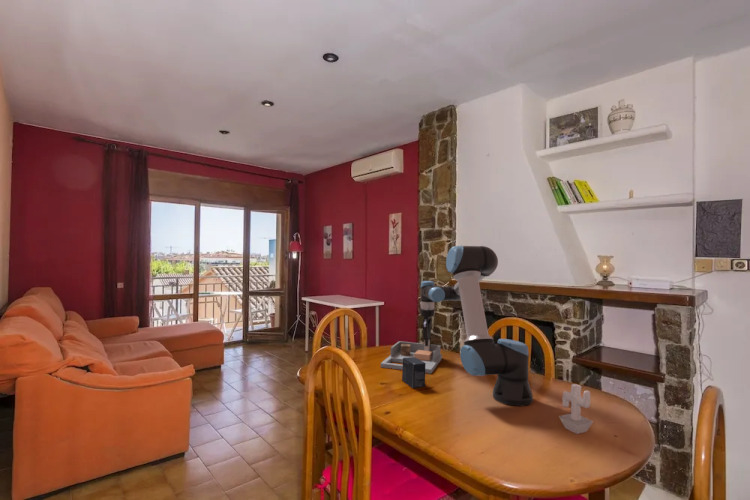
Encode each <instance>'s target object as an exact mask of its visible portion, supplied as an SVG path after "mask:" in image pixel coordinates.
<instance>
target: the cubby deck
mask: <svg viewBox="0 0 750 500" xmlns="http://www.w3.org/2000/svg"><path fill="white" fill-rule="evenodd" d="M401 344H410V356H408V355H401ZM418 350H424V343H421V342H411V341H410V342H409V341H402V340H400V341H399V340H398V341H397V342H396V343H395V344H393V345H391V347H390V355H389V356H388V357H386V358H385V359H384V360H383V361H382V362H380V368H383V369H384V368H385V369H391V368H392V370H400V371H403V358H409V357H414V353H415V352H416V351H418ZM430 351H433V357H432V358H431V359H430V361H425V360H421V361H423V362H424V363H426V364H425V374H432V373H433V372H434V370H435V369H436V368H437V366H438V365H439V363H440V362H441V361H442V360H443V354H441V345H440V344H432V343H431V344H430ZM399 363H400V364H399Z"/></svg>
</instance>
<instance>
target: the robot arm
mask: <svg viewBox="0 0 750 500" xmlns="http://www.w3.org/2000/svg"><path fill="white" fill-rule="evenodd" d="M445 262H446V263H445V265H446V266H445V267H446V270H447V272H449V273H450V274H452V277H453V279H454V280H455V281H457V282H456V283H455V284H454V285H452V286H436V285H435V281H434V280H422V281H421V284H420V302H419V305H420V316H421V317H423V320H422V335H423V337H422V340H423V341H424V343H423V344H424V351H430V343H431V341H430V340H431V339H432V335H431V334H432V322H433V319H432V317H434V316H435V303H440V302H446V301H447V302H449V301H456V302H457V301H460V303H461V309H462V310H461V311H462V315H463V320H464V321H463V322H464V327H465V333H466V338H465V339H464V341H463V343H464V345H462V346H461V348H460V350H459V351H460V353H459V354H460V355H459V356H460V360H461V361H460V362H461V365H462V367H463V368H464V370H465V371H466V373H468V374H469V375H470V376H473V377H474V376H477V377H478V376H479V377H484V376H494V375H496V377H497V378H496V381H495V384H494V386H493V389H492V397H493V399H495V401H497V402H499V403H501V404H505V405H508V406H515V407H517V406H518V407H524V406H529V405H531V404H533V401H534V395H533V392H532V388H531V386H530V383H529V357H530V354H529V347H528V345H527V344H526V343H524V342H523V341H522V342H521V341H518V340H514V339H509V338H499V339H498V340H497V343H495V341H494V338H493V337H492V336H491V335H490V334H489V330H488V324H487V318H486V314H485V309H484V303H483V297H482V293H481V286H480V282H482V280H483V279H485V278H486V277H490V276H491V275H492V274H494V272H495V271H496V270H497V267H498V265H499V259H498V255H497V254H496V252H495V251H494V250H493V249H492V248H490V247H488V246H484V245H455V246H452V247H451V248H450V249H449V250H448V253H447V255H446V260H445Z"/></svg>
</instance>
